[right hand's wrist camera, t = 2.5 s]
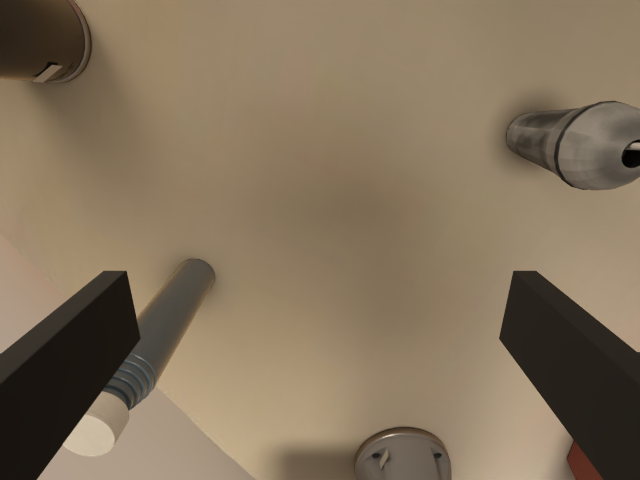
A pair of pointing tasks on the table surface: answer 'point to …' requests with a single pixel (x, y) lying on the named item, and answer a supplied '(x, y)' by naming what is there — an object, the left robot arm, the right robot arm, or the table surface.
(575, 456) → the bucket
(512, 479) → the table surface
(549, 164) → the grey cocktail shaker
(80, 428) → the cap
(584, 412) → the right robot arm
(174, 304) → the bottle
